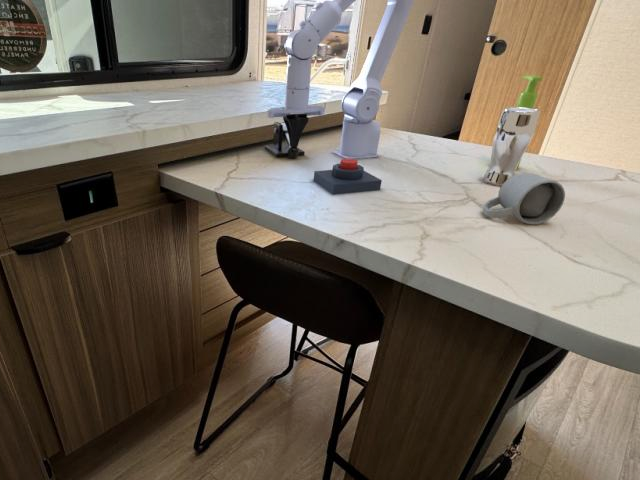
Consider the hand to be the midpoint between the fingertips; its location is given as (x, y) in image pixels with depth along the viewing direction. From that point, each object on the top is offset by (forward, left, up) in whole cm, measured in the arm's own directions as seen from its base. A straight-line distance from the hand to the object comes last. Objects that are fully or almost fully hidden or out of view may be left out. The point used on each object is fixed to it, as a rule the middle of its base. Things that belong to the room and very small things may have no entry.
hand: (293, 146), depth 108 cm
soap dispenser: (-48, +21, -3) cm, 53 cm away
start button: (-3, +24, 0) cm, 24 cm away
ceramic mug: (-24, +49, -3) cm, 55 cm away
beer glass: (-37, +31, -3) cm, 48 cm away
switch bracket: (0, -7, -3) cm, 8 cm away
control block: (-3, +24, -3) cm, 24 cm away
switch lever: (0, -4, -1) cm, 4 cm away
